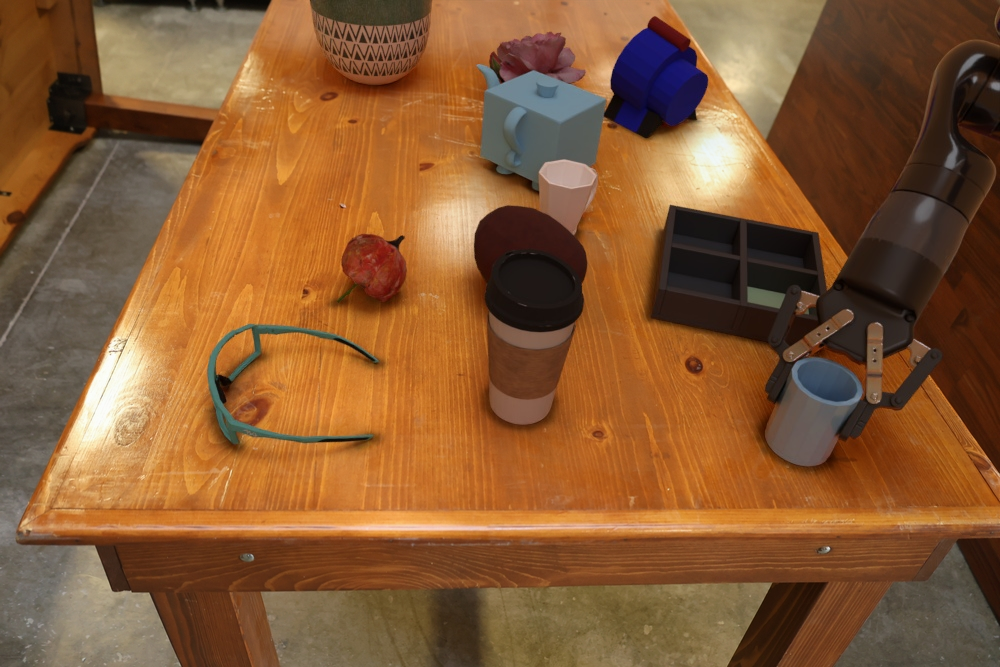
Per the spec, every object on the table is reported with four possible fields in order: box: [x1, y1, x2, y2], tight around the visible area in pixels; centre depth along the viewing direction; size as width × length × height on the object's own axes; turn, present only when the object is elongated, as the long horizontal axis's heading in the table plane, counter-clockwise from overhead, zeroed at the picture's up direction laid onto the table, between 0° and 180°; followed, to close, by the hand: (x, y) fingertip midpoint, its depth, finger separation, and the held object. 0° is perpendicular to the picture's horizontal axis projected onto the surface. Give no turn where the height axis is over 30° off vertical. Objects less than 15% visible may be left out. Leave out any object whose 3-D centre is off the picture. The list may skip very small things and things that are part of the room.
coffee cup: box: [484, 249, 585, 426], centre depth 68 cm, size 8×8×15 cm
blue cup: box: [764, 356, 864, 467], centre depth 70 cm, size 6×6×8 cm
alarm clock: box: [604, 15, 709, 139], centre depth 118 cm, size 12×12×15 cm
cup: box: [538, 159, 599, 236], centre depth 95 cm, size 7×10×8 cm
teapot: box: [476, 63, 607, 192], centre depth 105 cm, size 18×16×13 cm
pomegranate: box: [336, 233, 408, 303], centre depth 82 cm, size 7×7×10 cm
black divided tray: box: [650, 204, 828, 353], centre depth 89 cm, size 18×18×4 cm
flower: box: [488, 31, 587, 84], centre depth 125 cm, size 15×15×10 cm
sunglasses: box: [206, 323, 380, 445], centre depth 70 cm, size 14×15×5 cm
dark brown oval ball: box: [473, 204, 588, 284], centre depth 82 cm, size 11×13×10 cm
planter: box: [309, 0, 433, 86], centre depth 120 cm, size 20×20×21 cm
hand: (806, 420), depth 68 cm, fingers closed on blue cup, 6 cm apart
